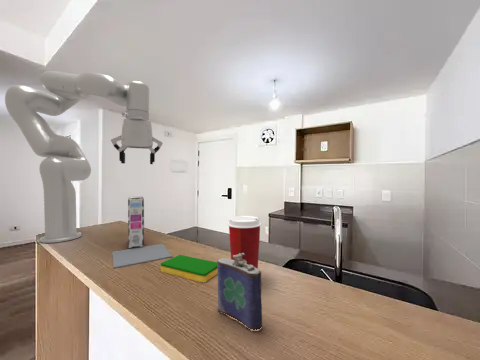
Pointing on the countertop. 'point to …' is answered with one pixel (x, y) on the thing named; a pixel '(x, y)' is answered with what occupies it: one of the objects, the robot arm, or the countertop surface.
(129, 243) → the candy bar box
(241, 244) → the paper cup
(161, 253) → the mat
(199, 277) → the dish sponge
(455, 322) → the countertop surface
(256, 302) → the flask
